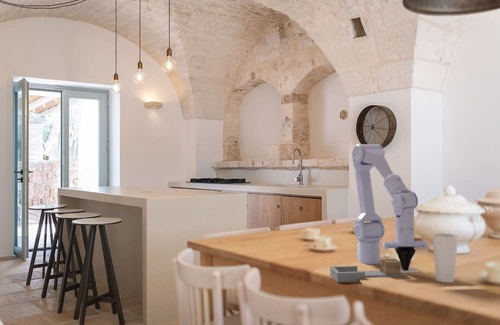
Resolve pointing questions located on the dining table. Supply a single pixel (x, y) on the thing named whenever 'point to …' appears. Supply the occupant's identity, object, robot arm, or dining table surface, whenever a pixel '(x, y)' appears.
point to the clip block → (390, 266)
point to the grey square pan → (354, 274)
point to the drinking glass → (445, 256)
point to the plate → (410, 270)
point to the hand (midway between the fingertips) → (405, 269)
